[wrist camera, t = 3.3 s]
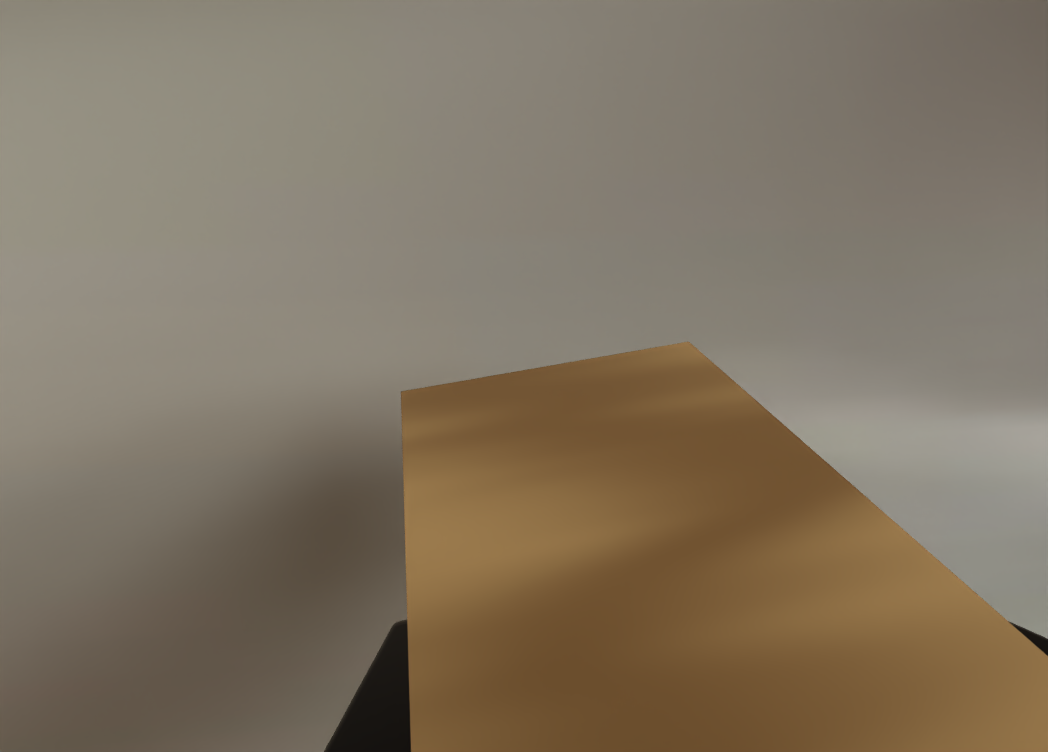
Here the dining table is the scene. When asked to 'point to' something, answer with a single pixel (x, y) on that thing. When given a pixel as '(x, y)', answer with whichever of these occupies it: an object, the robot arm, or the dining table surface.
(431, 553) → the wooden block
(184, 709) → the dining table surface
